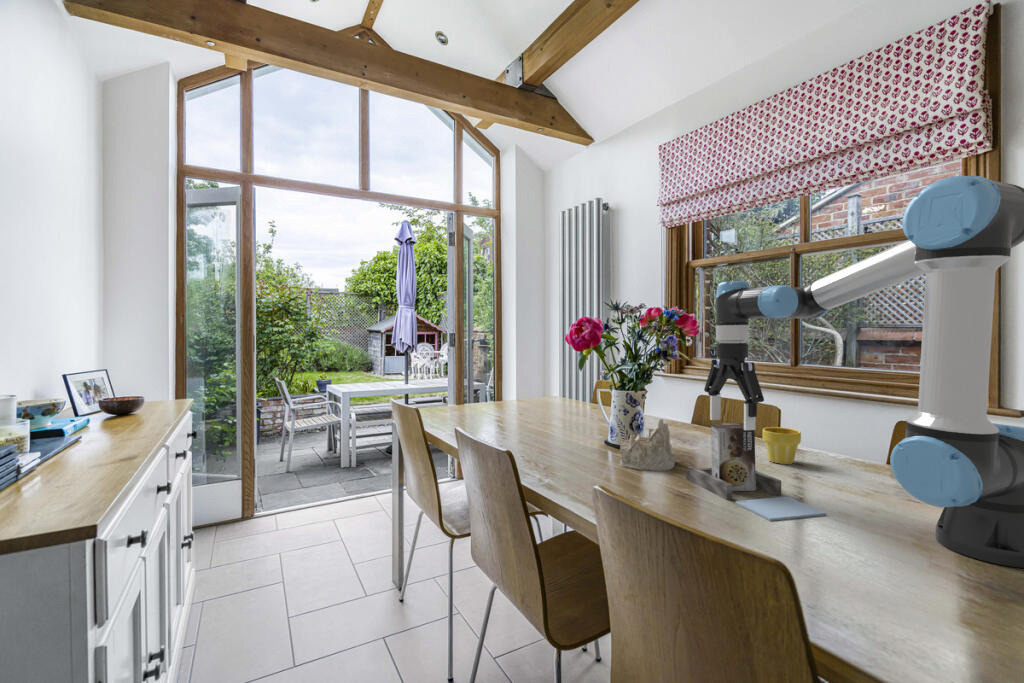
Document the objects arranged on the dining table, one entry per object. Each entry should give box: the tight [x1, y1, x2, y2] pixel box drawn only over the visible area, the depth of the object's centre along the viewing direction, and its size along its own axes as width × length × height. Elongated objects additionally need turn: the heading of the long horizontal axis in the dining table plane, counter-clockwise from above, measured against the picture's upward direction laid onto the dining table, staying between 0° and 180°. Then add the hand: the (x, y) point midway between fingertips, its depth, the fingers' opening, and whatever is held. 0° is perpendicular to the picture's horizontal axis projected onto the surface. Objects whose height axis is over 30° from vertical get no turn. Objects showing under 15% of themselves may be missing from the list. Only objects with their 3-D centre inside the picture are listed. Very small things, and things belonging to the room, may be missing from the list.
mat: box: [735, 496, 827, 522], centre depth 108 cm, size 11×14×1 cm
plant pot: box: [762, 426, 802, 465], centre depth 148 cm, size 10×10×10 cm
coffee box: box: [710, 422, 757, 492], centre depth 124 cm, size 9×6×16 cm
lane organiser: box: [685, 465, 782, 501], centre depth 125 cm, size 18×15×4 cm
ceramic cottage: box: [619, 418, 676, 472], centre depth 148 cm, size 16×16×15 cm
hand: (731, 424), depth 124 cm, fingers open, 13 cm apart
